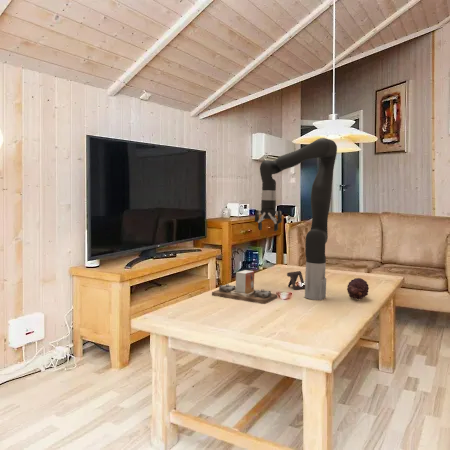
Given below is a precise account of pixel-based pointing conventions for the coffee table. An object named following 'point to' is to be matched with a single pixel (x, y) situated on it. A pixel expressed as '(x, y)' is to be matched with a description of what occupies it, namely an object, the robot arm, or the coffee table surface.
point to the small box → (245, 282)
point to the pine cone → (358, 288)
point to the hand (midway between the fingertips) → (267, 230)
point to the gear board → (254, 296)
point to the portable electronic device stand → (293, 279)
